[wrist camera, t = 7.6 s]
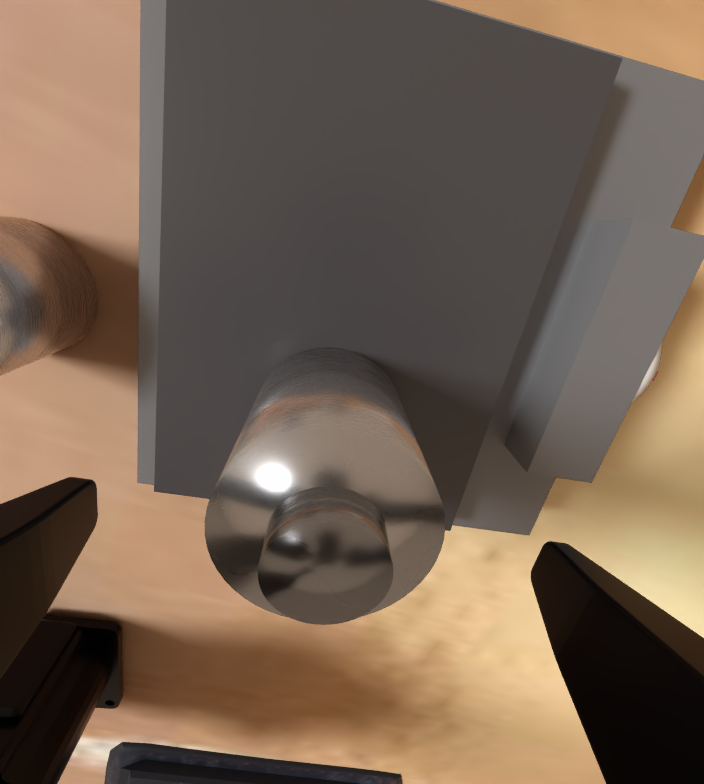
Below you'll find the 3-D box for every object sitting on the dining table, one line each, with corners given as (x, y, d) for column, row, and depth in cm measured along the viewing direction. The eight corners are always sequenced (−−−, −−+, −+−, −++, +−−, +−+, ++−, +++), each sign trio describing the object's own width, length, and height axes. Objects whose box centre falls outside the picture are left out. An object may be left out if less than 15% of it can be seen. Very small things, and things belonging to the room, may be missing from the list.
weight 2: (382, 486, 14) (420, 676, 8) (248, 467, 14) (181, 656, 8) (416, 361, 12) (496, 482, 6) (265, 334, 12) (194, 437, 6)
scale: (509, 499, 19) (558, 571, 15) (163, 449, 17) (111, 516, 13) (670, 116, 13) (819, 64, 9) (179, -22, 11) (95, -166, 7)
